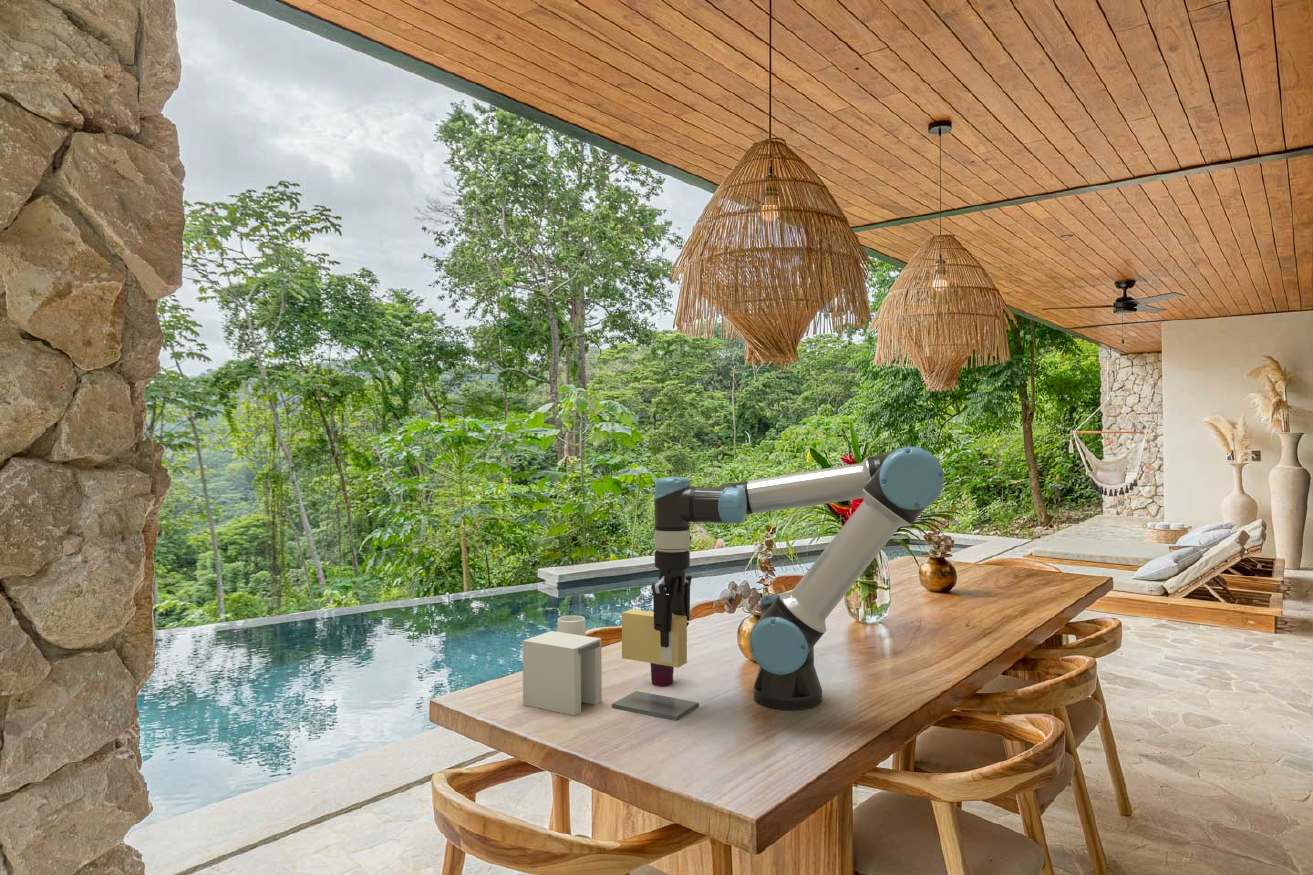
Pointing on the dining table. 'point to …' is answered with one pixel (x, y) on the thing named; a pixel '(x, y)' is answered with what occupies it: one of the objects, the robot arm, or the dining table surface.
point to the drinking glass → (571, 625)
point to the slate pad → (655, 705)
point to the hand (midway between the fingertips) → (672, 658)
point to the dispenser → (562, 672)
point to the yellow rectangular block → (651, 638)
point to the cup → (661, 675)
